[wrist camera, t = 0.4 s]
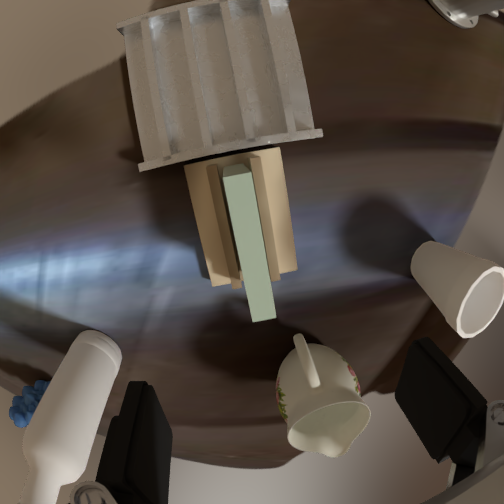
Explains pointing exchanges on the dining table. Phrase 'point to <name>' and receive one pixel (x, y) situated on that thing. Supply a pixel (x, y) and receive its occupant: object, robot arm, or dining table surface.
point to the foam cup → (459, 286)
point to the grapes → (27, 403)
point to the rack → (215, 79)
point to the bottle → (69, 417)
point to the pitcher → (320, 399)
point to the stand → (219, 220)
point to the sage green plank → (249, 240)
